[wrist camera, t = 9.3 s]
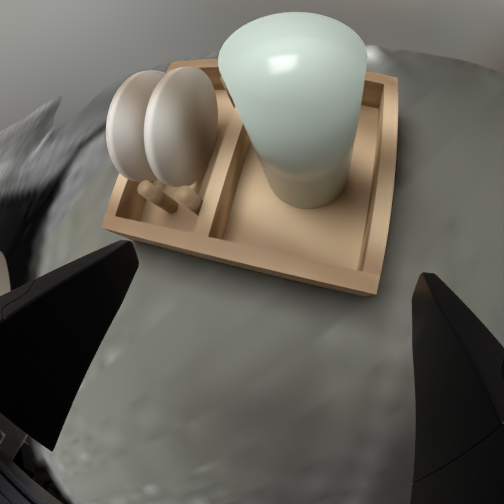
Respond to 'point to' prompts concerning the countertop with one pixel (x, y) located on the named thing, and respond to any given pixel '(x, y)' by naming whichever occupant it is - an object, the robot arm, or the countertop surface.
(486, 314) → the countertop surface
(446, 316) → the robot arm
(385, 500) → the countertop surface
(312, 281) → the dish rack
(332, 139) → the pale green domed post
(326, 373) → the countertop surface
